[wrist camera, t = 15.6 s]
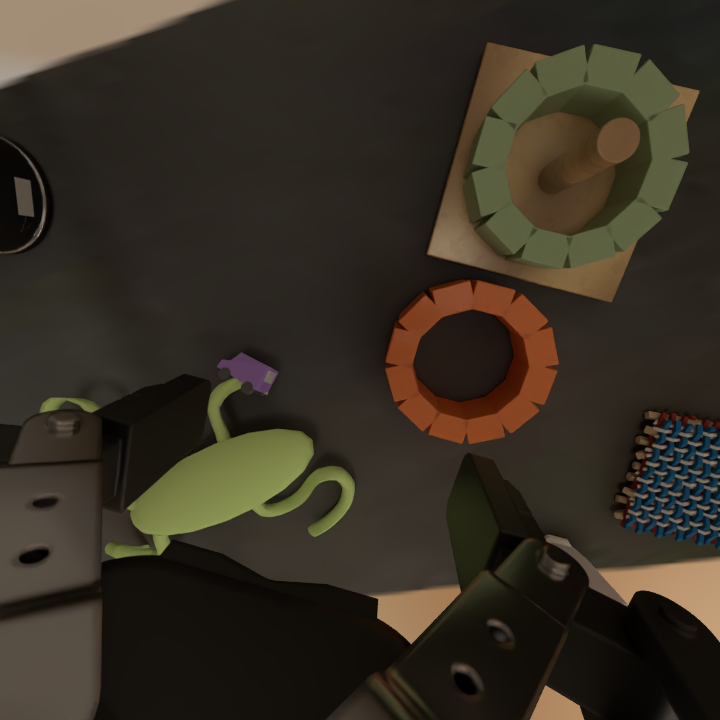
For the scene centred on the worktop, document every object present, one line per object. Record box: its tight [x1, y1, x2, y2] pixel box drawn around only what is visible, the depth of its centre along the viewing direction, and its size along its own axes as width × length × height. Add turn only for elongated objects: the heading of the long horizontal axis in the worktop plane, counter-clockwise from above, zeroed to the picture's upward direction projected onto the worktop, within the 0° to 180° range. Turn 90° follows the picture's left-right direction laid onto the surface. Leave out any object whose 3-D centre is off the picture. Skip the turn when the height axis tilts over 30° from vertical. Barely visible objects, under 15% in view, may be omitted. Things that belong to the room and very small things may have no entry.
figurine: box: [40, 353, 355, 559], centre depth 34 cm, size 18×27×6 cm
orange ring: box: [385, 279, 558, 444], centre depth 30 cm, size 12×12×4 cm
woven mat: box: [614, 411, 720, 549], centre depth 31 cm, size 10×11×2 cm
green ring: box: [462, 44, 689, 269], centre depth 25 cm, size 12×12×4 cm
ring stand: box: [426, 42, 699, 302], centre depth 24 cm, size 14×14×10 cm
